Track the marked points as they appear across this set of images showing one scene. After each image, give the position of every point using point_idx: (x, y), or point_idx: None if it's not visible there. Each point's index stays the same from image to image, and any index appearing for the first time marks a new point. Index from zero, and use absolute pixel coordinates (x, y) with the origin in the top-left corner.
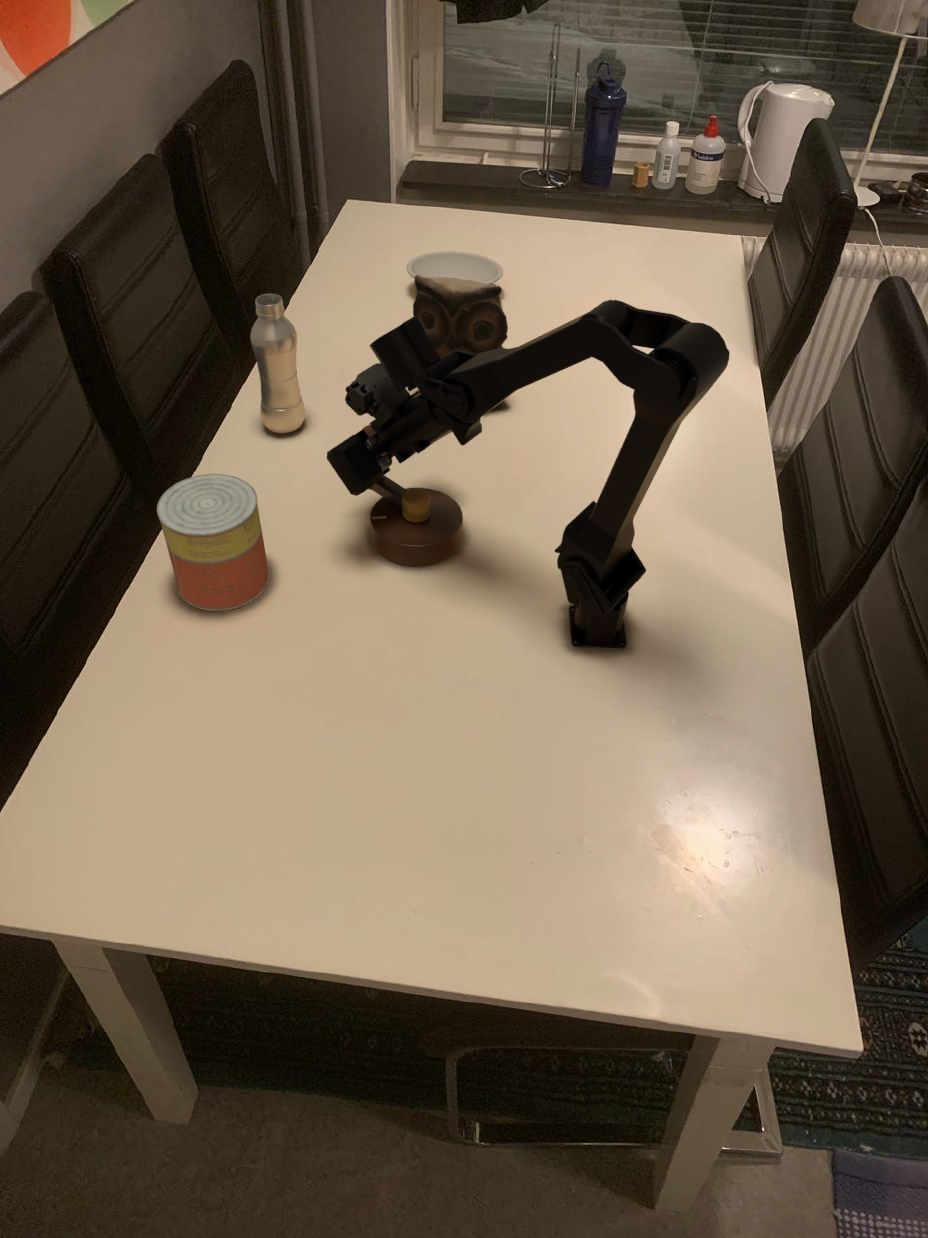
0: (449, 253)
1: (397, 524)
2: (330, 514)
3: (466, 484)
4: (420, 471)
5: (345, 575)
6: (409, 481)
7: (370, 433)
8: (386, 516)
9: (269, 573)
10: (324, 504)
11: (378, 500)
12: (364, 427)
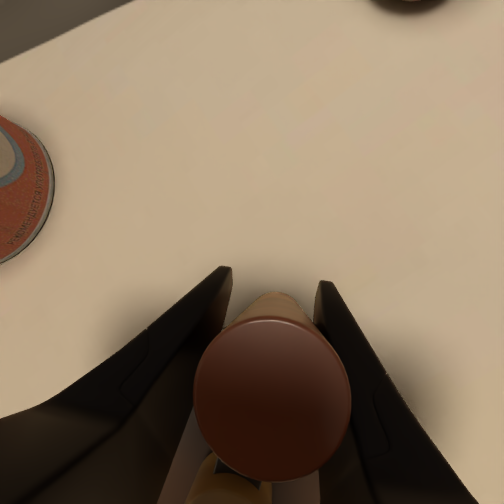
0: None
1: (178, 452)
2: (212, 238)
3: (479, 452)
4: (454, 322)
5: (79, 369)
6: (403, 320)
7: (226, 409)
8: (192, 408)
9: (19, 249)
10: (232, 209)
11: None
12: (269, 323)
